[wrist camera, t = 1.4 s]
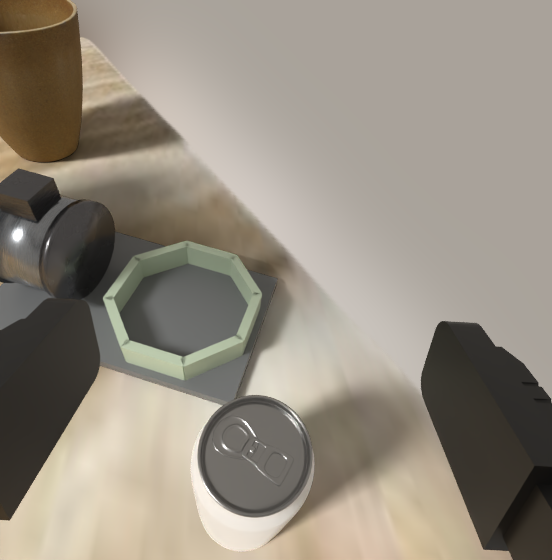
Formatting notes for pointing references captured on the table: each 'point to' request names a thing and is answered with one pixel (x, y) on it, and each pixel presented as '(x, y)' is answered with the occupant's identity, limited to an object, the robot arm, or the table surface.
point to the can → (251, 471)
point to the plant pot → (40, 78)
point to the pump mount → (169, 315)
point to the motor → (52, 237)
